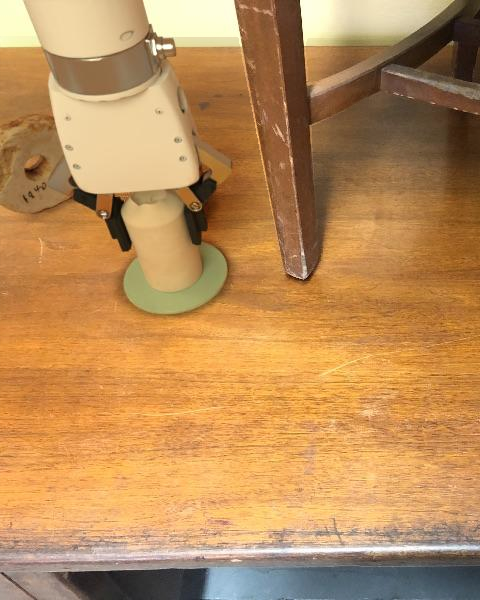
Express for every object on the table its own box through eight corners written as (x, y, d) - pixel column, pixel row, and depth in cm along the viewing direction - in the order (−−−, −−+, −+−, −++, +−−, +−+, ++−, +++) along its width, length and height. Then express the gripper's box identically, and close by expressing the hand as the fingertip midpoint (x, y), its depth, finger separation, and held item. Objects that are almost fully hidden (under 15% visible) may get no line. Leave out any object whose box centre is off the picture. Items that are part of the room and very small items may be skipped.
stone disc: (84, 172, 78) (52, 94, 70) (101, 186, 76) (70, 108, 69) (-4, 214, 73) (-49, 136, 65) (12, 230, 71) (-31, 151, 63)
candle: (205, 287, 65) (183, 207, 58) (147, 298, 64) (116, 218, 57) (200, 249, 69) (178, 169, 61) (144, 259, 68) (115, 179, 60)
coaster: (106, 307, 64) (105, 305, 64) (148, 237, 71) (147, 234, 70) (208, 320, 63) (207, 317, 63) (240, 247, 70) (240, 245, 69)
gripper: (223, 27, 53) (256, 205, 67) (-7, 39, 51) (74, 220, 65) (221, 76, 48) (256, 257, 62) (-34, 92, 46) (60, 275, 60)
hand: (163, 236), depth 63 cm, fingers open, 5 cm apart
